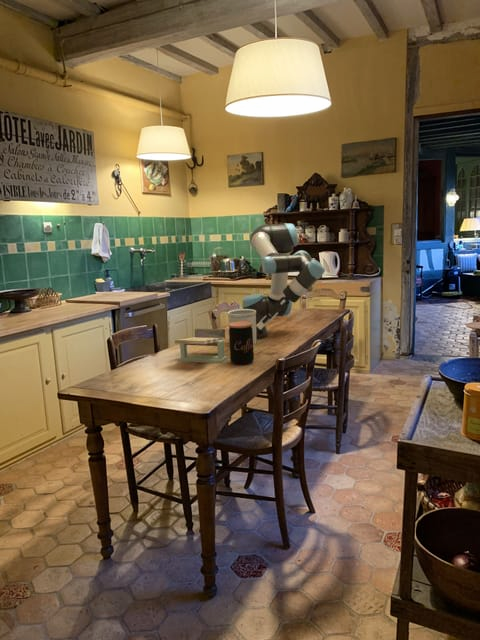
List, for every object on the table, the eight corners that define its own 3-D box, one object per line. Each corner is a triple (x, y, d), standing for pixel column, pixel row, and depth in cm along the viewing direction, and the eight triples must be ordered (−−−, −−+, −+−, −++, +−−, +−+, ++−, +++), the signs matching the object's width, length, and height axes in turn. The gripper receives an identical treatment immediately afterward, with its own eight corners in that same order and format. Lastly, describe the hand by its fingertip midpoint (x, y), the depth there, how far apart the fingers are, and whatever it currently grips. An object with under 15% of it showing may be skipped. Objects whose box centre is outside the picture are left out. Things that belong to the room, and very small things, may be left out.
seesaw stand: (184, 356, 241) (183, 337, 239) (227, 358, 234) (226, 338, 232) (177, 361, 233) (176, 341, 231) (221, 363, 226) (220, 342, 224)
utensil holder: (255, 347, 251) (253, 313, 248) (226, 347, 254) (224, 314, 251) (259, 340, 266) (258, 308, 262) (232, 340, 269) (230, 309, 265)
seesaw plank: (196, 343, 247) (196, 328, 247) (227, 344, 242) (227, 329, 242) (172, 347, 221) (173, 331, 221) (206, 348, 216) (206, 331, 216)
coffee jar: (234, 366, 220) (231, 327, 216) (228, 360, 230) (226, 322, 227) (256, 363, 223) (255, 324, 219) (250, 357, 233) (248, 320, 229)
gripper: (295, 301, 200) (261, 336, 207) (306, 292, 223) (275, 324, 231) (282, 288, 201) (248, 324, 208) (294, 280, 224) (264, 313, 231)
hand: (262, 324), depth 219 cm, fingers open, 13 cm apart
